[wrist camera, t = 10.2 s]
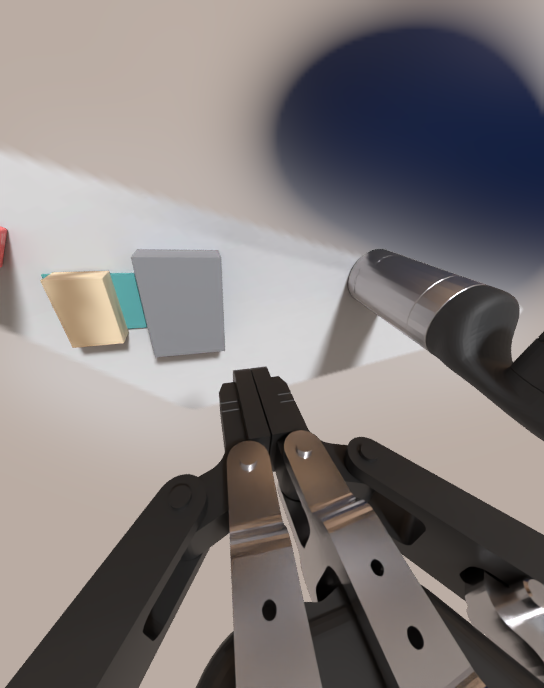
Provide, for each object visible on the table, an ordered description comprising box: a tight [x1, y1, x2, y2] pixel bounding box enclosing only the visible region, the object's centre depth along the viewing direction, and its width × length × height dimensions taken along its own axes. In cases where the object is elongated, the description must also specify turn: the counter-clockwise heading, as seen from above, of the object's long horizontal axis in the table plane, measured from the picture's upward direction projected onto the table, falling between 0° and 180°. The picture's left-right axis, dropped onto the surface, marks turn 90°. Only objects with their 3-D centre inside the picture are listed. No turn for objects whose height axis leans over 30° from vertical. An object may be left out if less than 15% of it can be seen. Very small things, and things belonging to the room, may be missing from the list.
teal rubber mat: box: [41, 273, 147, 329], centre depth 32 cm, size 10×8×1 cm
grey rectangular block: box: [131, 249, 225, 357], centre depth 34 cm, size 10×14×4 cm
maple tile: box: [40, 271, 128, 348], centre depth 31 cm, size 6×9×3 cm, turn 177°
